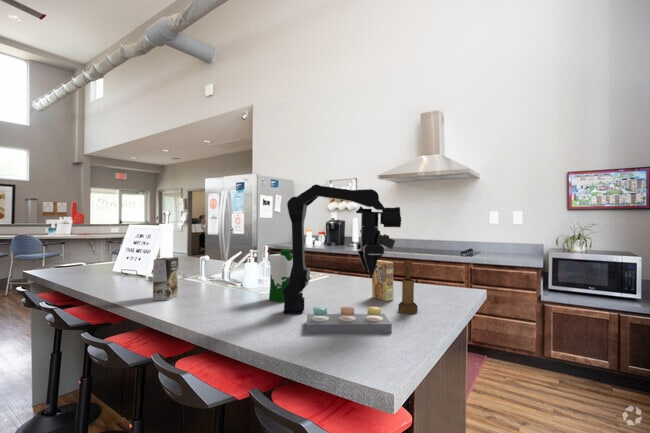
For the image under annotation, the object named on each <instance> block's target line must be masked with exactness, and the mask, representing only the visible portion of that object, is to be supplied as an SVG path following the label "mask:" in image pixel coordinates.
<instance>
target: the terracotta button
mask: <svg viewBox="0 0 650 433" xmlns="http://www.w3.org/2000/svg"><path fill="white" fill-rule="evenodd" d="M340 314H341V315H346V316H350V315H354V314H355V308H354V307H353V306H342V307H340Z"/></svg>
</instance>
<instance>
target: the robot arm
mask: <svg viewBox="0 0 650 433" xmlns="http://www.w3.org/2000/svg"><path fill="white" fill-rule="evenodd" d="M319 197H321V198H328V199H333V200H341V201H346V202H347V201H349V202H352V203H355V204H358V205H362V206H359V208H358V209H357V210H356V211H355V213H356V214H361V219H360V220H361V221H360V226H361V228H360V230H359V231H360V232H359V233H360V241H358V242H357V243H356V250H357V253H358V256H359V258H360V262H361V264H362V267H363V269H364V271H365V272H368V274H369V276H372V275H373V274H374V271H375V267H376V263H377V260H379V259H380V258H382V257H383V256H384V254H385V248H388V249H390V250H393V248H394V246H395V243H396V240H395V239H392V238H390V235H388V234H386V233H385V234H381V231H380V230H379V224H380V225H383V228H401V226H402V216H401V207H399V206H396V207H385V206H384V205H383V203H381V201H380V196H379V194H378V192H377V191H376V190H375V189H371V188H369V189H355V190H354V189H345V188H339V187H338V188H337V187H330V186H325V185H320V184H313V185H312V186H311V187H309V188H307V189H306V190H305V191H303V192H302V193H300V194H299V195H297V196H292V197H291V198H290V199H289V200H287V203H286V205H287V206H286V207H287V211H288V215H289V219H290V222H291V241H292V243H291V244H292V254H293V265H292V269H291V273H290V280H289V284H288V285H287V286H286V287H285V288H284V289H283V293H284V302H283V314H285V315H286V314H289V315H292V314H293V315H294V314H296V315H297V314H299V315H300V314H301V315H302V314H303V312H304V311H305V297H304V293H303V290H304V289H305V288H306V287H307V286H308V284H310V283H309V282H310V280H311V279H312V277H311V267H307V265H306V263H305V260H306V259H305V258H306V257H305V226H304V225H305V219H306V215H307V210H308V209H307V208H308V206H310V205H311V204H312V203H313V202H314V201H315V200H317V199H318V198H319ZM363 207H367V208H363ZM372 208H374V210H377V211H372ZM379 216H380V217H379ZM379 222H380V223H379Z"/></svg>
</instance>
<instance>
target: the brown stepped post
mask: <svg viewBox="0 0 650 433" xmlns="http://www.w3.org/2000/svg"><path fill="white" fill-rule="evenodd" d="M403 266H404V269H405V272H404V277H405V278H403V279H402V283H401V284H402V287H401V289H402V291H401V292H402V293H401V294H402V295H401V298H402V299H401V302H400V303H398V307H397V308H398V309H397V310H398V312H399V313H402V314H408V315H410V314H411V315H412V314H413V315H414V314H417V313H418V305H417V304H416V303H415V301H414V294H415V292H414V291H415V290H414V288H415V286H414V285H415V281H414V279H412V278H411V277H412V272H411V269H412V268H413V262H412V260H411V259H406V260H404V262H403Z"/></svg>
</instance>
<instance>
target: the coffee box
mask: <svg viewBox="0 0 650 433" xmlns="http://www.w3.org/2000/svg"><path fill="white" fill-rule="evenodd" d="M152 270H153V273H152V274H153V275H152V276H153V278H152V301H170V300H171V299H174V298H177V297H178V296H179V257H161V258H155V259H153V269H152Z"/></svg>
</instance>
